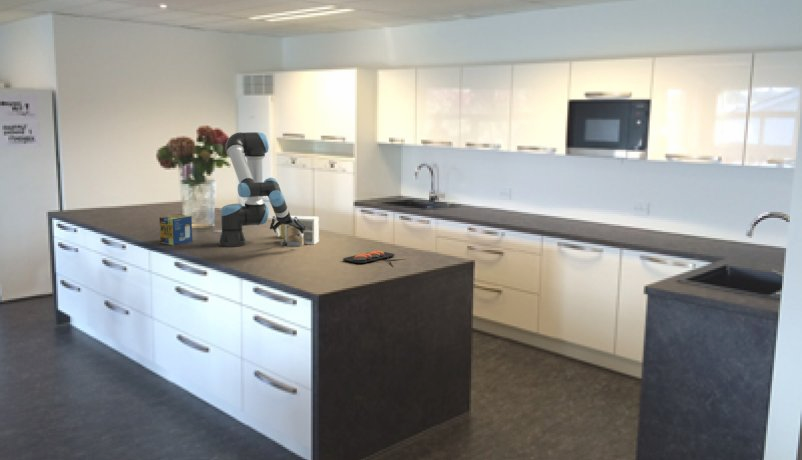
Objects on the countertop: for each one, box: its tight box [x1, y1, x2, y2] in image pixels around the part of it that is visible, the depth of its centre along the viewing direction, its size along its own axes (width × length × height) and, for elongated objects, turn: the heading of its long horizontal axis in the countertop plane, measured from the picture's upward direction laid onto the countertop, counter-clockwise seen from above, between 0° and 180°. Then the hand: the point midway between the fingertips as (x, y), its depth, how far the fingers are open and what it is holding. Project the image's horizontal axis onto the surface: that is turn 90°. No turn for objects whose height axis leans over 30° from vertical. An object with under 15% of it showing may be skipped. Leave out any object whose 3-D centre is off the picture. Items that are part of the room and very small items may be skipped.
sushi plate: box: [342, 250, 407, 268], centre depth 353 cm, size 29×30×4 cm
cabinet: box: [280, 215, 320, 247], centre depth 397 cm, size 18×18×15 cm
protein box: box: [159, 214, 193, 246], centre depth 395 cm, size 10×15×16 cm
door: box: [287, 225, 305, 247], centre depth 391 cm, size 9×4×12 cm, turn 81°
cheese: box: [280, 224, 285, 240], centre depth 416 cm, size 10×11×10 cm
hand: (290, 235), depth 383 cm, fingers open, 13 cm apart
